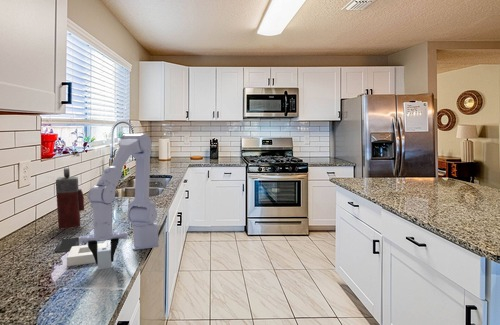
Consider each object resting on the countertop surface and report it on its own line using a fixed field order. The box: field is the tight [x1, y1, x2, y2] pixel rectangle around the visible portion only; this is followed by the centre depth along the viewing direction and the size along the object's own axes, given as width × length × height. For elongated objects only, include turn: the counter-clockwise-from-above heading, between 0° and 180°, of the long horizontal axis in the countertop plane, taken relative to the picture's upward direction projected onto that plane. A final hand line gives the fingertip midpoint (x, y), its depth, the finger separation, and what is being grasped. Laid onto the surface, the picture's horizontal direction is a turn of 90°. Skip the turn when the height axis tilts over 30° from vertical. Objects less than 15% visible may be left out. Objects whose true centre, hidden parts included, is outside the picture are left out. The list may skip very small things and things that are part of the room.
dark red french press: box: [55, 167, 85, 230], centre depth 164 cm, size 9×11×28 cm
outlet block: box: [66, 242, 109, 267], centre depth 122 cm, size 12×12×3 cm
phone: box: [54, 237, 80, 253], centre depth 136 cm, size 8×1×15 cm
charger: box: [97, 246, 113, 271], centre depth 113 cm, size 4×4×6 cm
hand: (104, 261), depth 113 cm, fingers closed on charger, 4 cm apart
